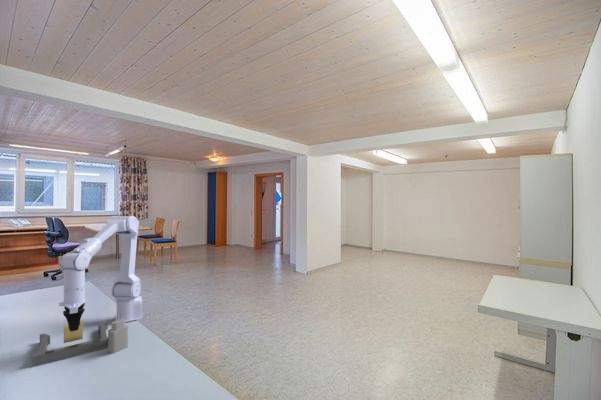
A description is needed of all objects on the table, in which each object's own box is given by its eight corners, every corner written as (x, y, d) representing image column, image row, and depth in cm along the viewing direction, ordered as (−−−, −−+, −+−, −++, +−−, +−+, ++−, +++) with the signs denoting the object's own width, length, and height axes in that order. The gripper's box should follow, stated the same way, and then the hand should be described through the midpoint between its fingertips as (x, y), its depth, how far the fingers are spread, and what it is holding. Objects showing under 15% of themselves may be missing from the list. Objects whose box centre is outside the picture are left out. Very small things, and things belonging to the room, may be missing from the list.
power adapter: (107, 351, 97) (107, 315, 97) (123, 344, 102) (123, 310, 102) (112, 354, 96) (112, 317, 96) (128, 346, 100) (128, 312, 100)
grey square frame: (107, 327, 115) (107, 320, 115) (110, 347, 100) (110, 338, 100) (39, 342, 103) (39, 333, 103) (31, 367, 88) (31, 356, 88)
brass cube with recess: (82, 334, 102) (82, 320, 102) (82, 338, 98) (82, 323, 98) (64, 338, 99) (64, 323, 99) (63, 343, 95) (63, 327, 95)
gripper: (60, 285, 102) (60, 323, 102) (57, 296, 91) (57, 339, 91) (85, 281, 106) (85, 318, 106) (85, 291, 95) (85, 333, 95)
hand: (74, 328), depth 99 cm, fingers closed on brass cube with recess, 4 cm apart
